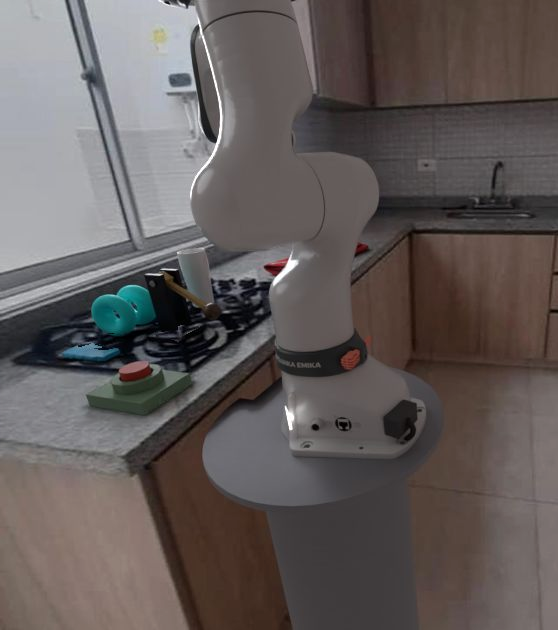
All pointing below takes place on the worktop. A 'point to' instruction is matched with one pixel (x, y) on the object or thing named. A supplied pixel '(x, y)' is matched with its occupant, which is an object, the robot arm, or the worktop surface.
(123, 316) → the turquoise double disc spool
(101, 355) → the sponge
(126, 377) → the button
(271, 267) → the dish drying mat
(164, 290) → the bracket
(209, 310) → the lever
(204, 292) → the drinking glass
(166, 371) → the button box
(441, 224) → the worktop surface
